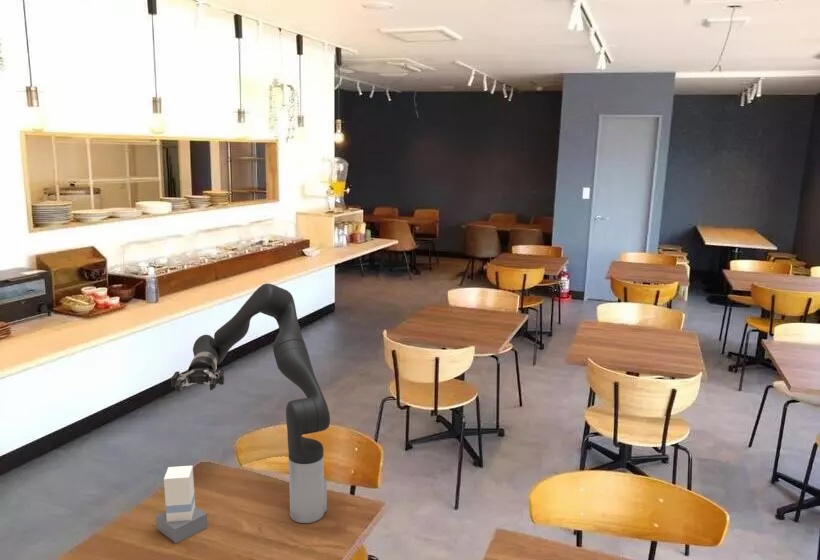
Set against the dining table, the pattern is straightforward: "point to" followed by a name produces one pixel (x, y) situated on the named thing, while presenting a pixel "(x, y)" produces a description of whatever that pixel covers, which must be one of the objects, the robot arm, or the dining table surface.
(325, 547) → the dining table surface
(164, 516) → the block
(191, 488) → the milk carton
